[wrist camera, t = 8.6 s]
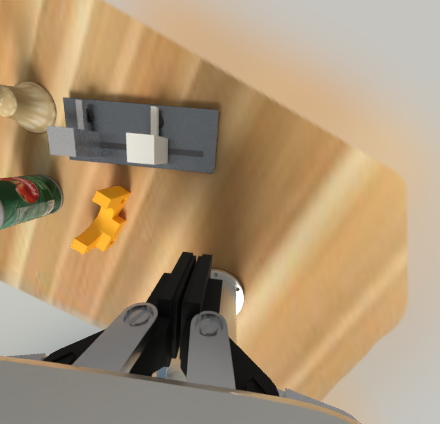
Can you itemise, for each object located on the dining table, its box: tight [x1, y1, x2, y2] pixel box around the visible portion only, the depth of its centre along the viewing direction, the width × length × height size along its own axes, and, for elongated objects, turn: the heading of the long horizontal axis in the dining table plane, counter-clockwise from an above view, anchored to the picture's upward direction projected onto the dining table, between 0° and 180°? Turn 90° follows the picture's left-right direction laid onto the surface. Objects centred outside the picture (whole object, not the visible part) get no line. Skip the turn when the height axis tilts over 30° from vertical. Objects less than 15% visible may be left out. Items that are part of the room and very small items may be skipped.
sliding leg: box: [126, 106, 168, 165], centre depth 31 cm, size 8×4×6 cm, turn 175°
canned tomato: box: [0, 175, 63, 230], centre depth 35 cm, size 8×8×11 cm
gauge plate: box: [47, 98, 219, 173], centre depth 32 cm, size 10×26×8 cm, turn 85°
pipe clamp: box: [71, 185, 130, 255], centre depth 37 cm, size 12×4×6 cm, turn 147°
